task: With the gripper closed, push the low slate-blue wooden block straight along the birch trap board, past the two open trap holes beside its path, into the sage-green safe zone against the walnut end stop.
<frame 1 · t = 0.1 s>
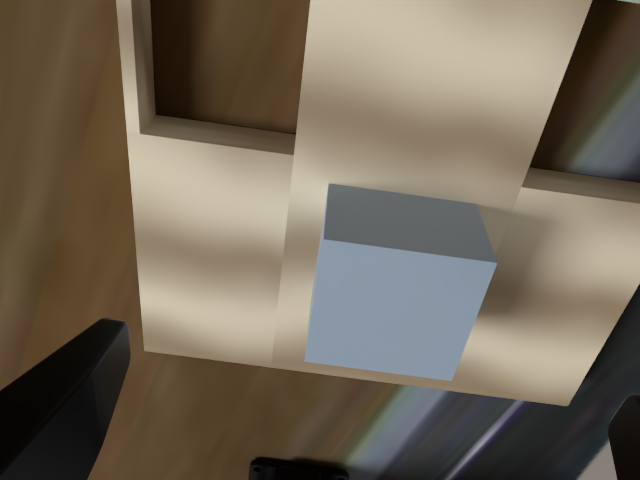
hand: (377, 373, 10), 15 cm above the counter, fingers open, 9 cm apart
block: (388, 253, 24), point 2 cm above the counter, touching trap board
trap board: (415, 104, 22), on the counter
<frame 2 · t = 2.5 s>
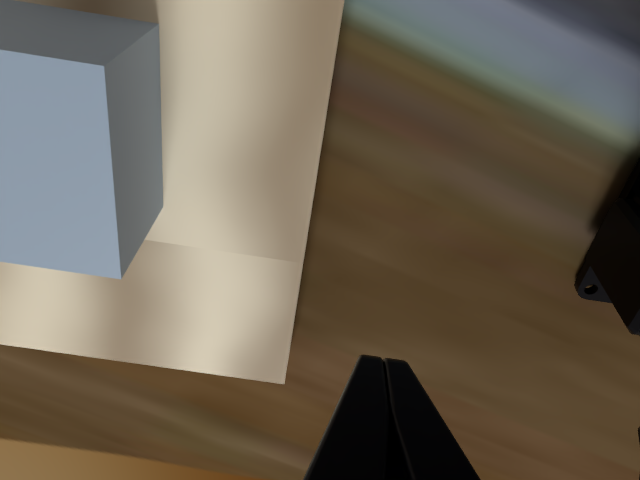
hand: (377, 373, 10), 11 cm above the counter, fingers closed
block: (64, 109, 17), point 2 cm above the counter, touching trap board
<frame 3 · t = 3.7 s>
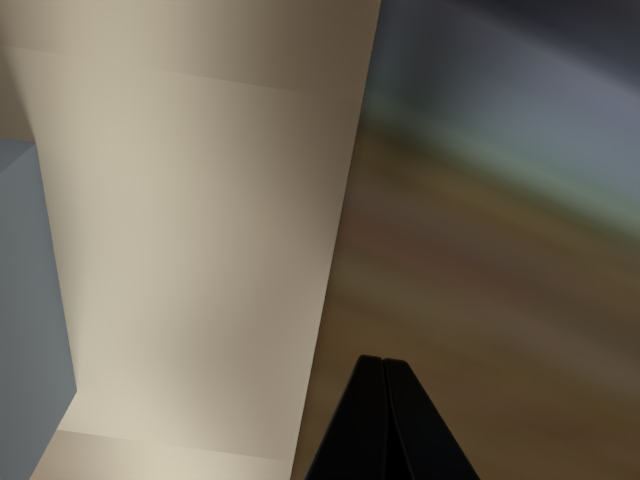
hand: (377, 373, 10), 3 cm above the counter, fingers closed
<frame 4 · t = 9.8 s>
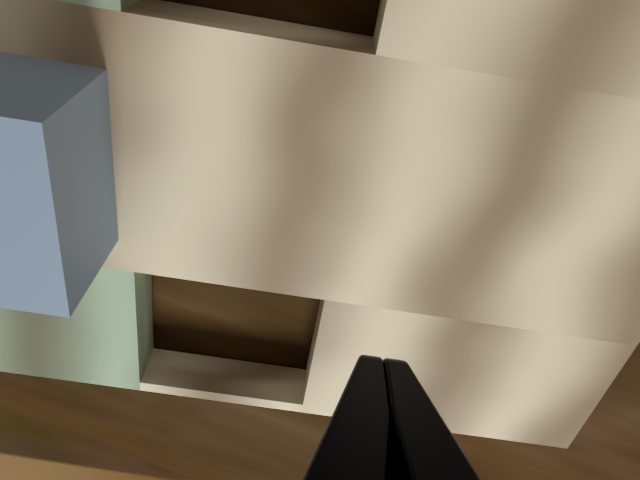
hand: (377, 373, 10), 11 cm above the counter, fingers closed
block: (17, 147, 17), point 2 cm above the counter, touching trap board
trap board: (290, 158, 19), on the counter
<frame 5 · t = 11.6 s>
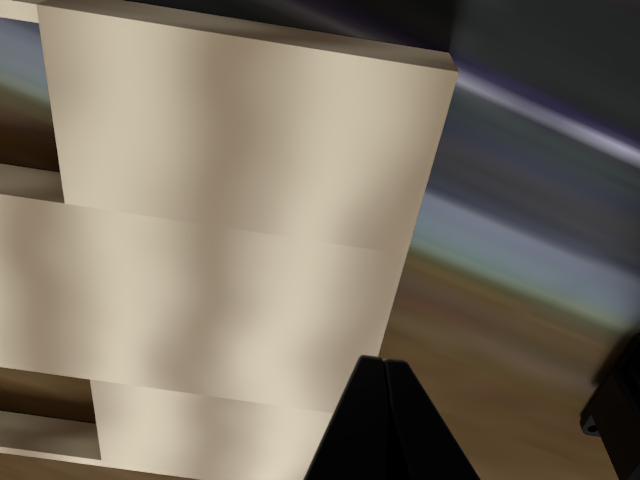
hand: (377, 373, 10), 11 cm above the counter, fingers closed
trap board: (51, 264, 23), on the counter
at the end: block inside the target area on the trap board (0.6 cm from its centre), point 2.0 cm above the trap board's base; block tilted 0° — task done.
